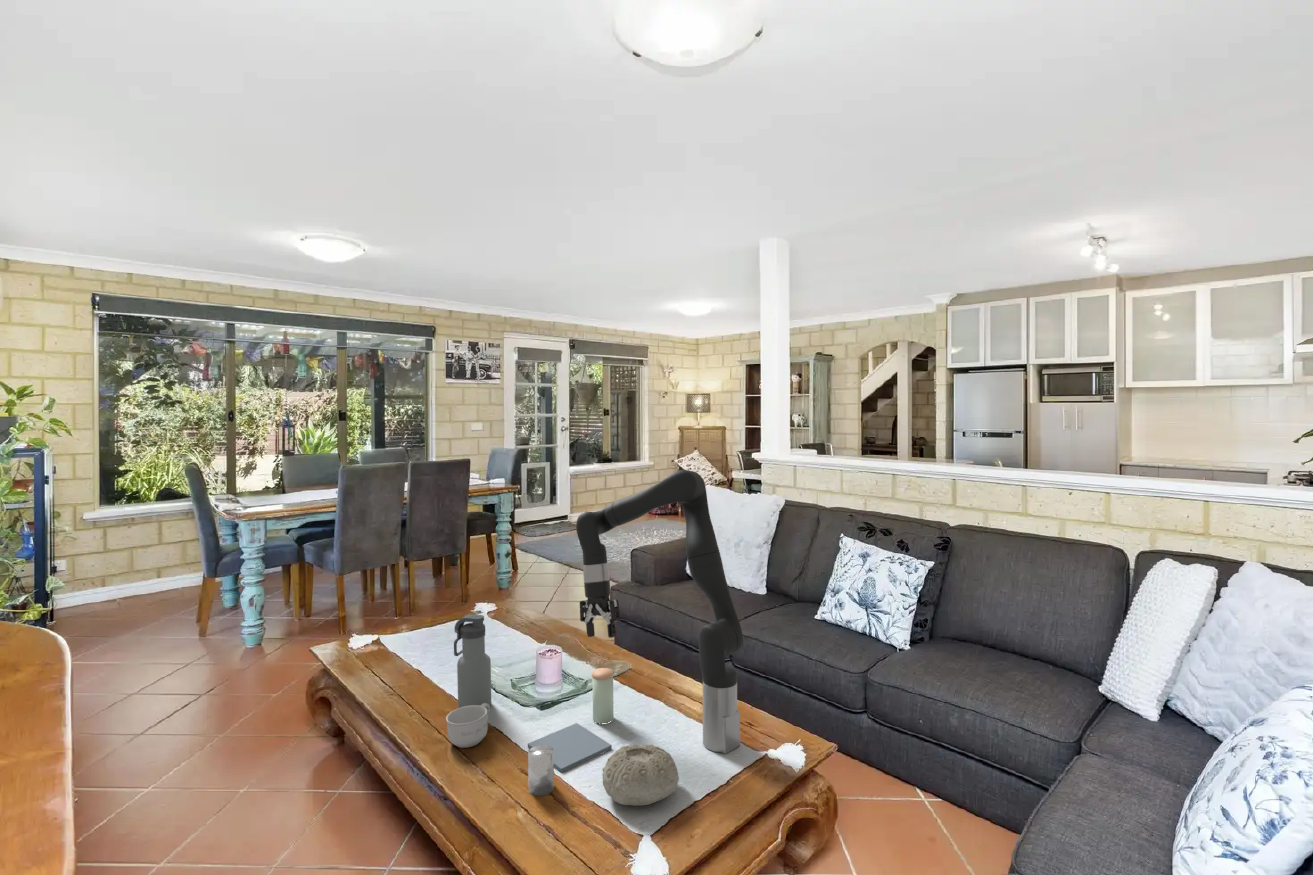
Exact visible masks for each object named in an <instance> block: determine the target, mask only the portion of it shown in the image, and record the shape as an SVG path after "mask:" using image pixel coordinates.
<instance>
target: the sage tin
mask: <svg viewBox="0 0 1313 875" xmlns="http://www.w3.org/2000/svg"><path fill="white" fill-rule="evenodd" d="M614 672H615V671H614V670H613V669H612V668H610V667H600V668H596V669H594V670H592V672H591V678H592V721H593V720H594V722H596V723H600V724H602V723H608V722H610V721H612V720H613V718H614V714H615V713H614V674H615V673H614ZM614 719H615V718H614ZM613 721H614V720H613ZM613 721H612V722H613ZM594 722H593V723H594ZM596 723H595V724H596ZM600 724H599V725H600Z"/></svg>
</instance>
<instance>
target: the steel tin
mask: <svg viewBox="0 0 1313 875" xmlns="http://www.w3.org/2000/svg"><path fill="white" fill-rule="evenodd" d="M527 764H528V766H527V767H528V768H527V769H528V770H527V773H528V774H527V775H528V777H527V778H528V793H529V794H531V795H533V796H535V797H537V796H539V797H541V796H545V795H546V796H547V795H548V794H550V793H552V792H553V790H554V789H555V768H554V750H553V748H552V747H551V746H549V745H537V746H534V747H532V748H531V749H529V750H528V752H527Z"/></svg>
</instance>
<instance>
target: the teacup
mask: <svg viewBox="0 0 1313 875" xmlns="http://www.w3.org/2000/svg"><path fill="white" fill-rule="evenodd" d="M490 713H491V705H490V706H489V704H487V703H483V704H482V705H481V706H478V705H470V706H465V707H461V708H458V707H457V708H456V709H454V710H451V711H450V712H449V713H448V714H447V715H446V718H445V721H446V731H447V737H448V739H449V742H450V743H452V745H454V746H456V747H458V748H461V749H464V748H465V749H466V748H471V747H474V746H477V745H478V744H479V743H481V742H482V740H483V739H484V738H485V737H486V735H487V733H488V727H489V726H488V717H489V715H490Z"/></svg>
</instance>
